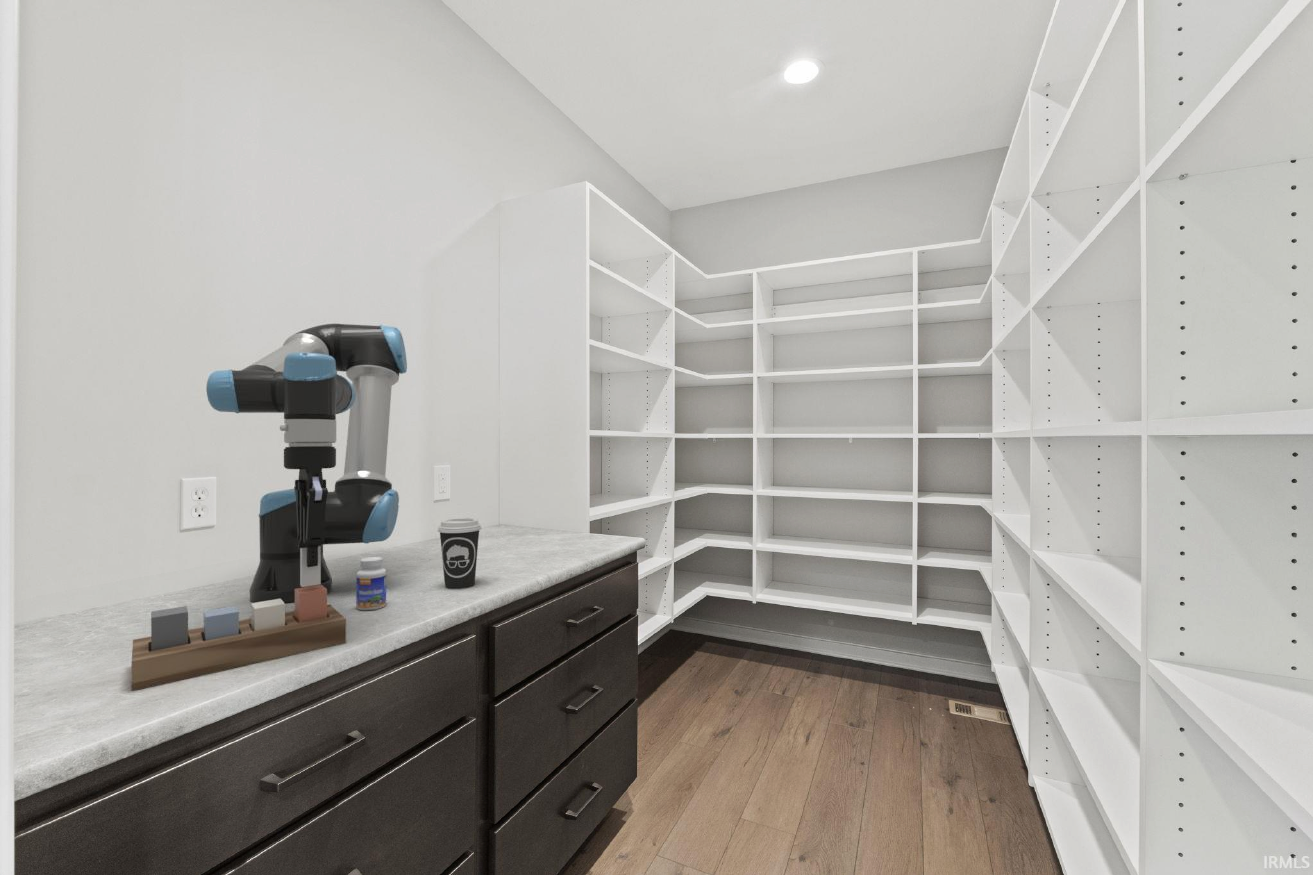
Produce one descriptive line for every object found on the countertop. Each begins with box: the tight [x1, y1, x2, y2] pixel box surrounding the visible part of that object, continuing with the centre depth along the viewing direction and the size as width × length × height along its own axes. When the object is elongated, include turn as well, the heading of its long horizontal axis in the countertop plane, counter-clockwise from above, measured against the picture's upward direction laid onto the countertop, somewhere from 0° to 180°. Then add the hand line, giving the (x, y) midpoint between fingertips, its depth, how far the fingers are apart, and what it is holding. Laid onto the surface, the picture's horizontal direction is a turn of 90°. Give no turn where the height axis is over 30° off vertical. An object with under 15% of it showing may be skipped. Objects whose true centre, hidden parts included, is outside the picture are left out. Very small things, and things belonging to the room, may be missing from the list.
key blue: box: [203, 605, 240, 641], centre depth 86 cm, size 4×4×5 cm
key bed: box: [131, 603, 347, 692], centre depth 88 cm, size 11×26×4 cm, turn 132°
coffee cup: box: [437, 517, 482, 590], centre depth 129 cm, size 10×10×15 cm
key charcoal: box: [150, 605, 189, 651], centre depth 82 cm, size 4×4×5 cm
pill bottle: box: [355, 556, 387, 611], centre depth 113 cm, size 5×5×10 cm
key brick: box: [294, 585, 328, 623], centre depth 94 cm, size 4×4×5 cm
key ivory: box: [250, 599, 286, 632], centre depth 90 cm, size 4×4×5 cm
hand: (310, 584), depth 94 cm, fingers closed
